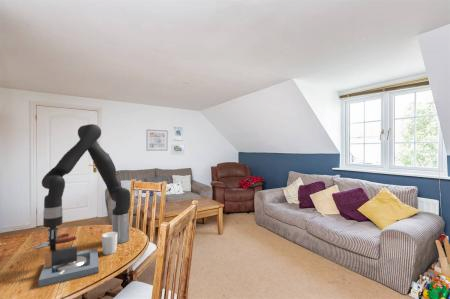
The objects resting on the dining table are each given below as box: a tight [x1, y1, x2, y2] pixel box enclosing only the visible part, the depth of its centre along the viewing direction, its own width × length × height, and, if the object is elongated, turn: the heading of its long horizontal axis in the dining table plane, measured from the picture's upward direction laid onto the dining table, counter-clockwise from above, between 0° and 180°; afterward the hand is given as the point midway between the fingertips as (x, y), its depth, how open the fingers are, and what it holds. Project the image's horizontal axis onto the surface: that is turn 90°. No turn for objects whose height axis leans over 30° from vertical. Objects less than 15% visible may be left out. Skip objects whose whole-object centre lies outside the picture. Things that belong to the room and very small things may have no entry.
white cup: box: [101, 231, 118, 256], centre depth 127 cm, size 8×8×10 cm
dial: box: [44, 245, 86, 272], centre depth 109 cm, size 16×12×9 cm
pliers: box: [32, 233, 77, 250], centre depth 139 cm, size 12×20×3 cm, turn 150°
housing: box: [37, 248, 100, 288], centre depth 110 cm, size 22×22×3 cm
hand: (52, 250), depth 112 cm, fingers closed
